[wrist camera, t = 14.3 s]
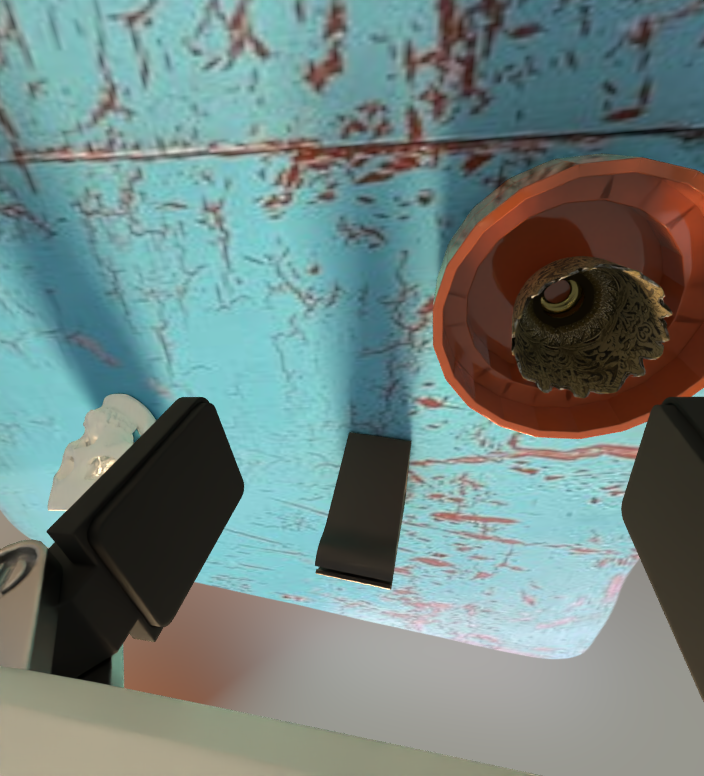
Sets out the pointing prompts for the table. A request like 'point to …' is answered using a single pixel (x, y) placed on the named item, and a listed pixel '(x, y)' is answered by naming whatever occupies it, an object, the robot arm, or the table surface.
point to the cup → (588, 326)
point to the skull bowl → (98, 447)
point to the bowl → (557, 241)
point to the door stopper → (366, 511)
